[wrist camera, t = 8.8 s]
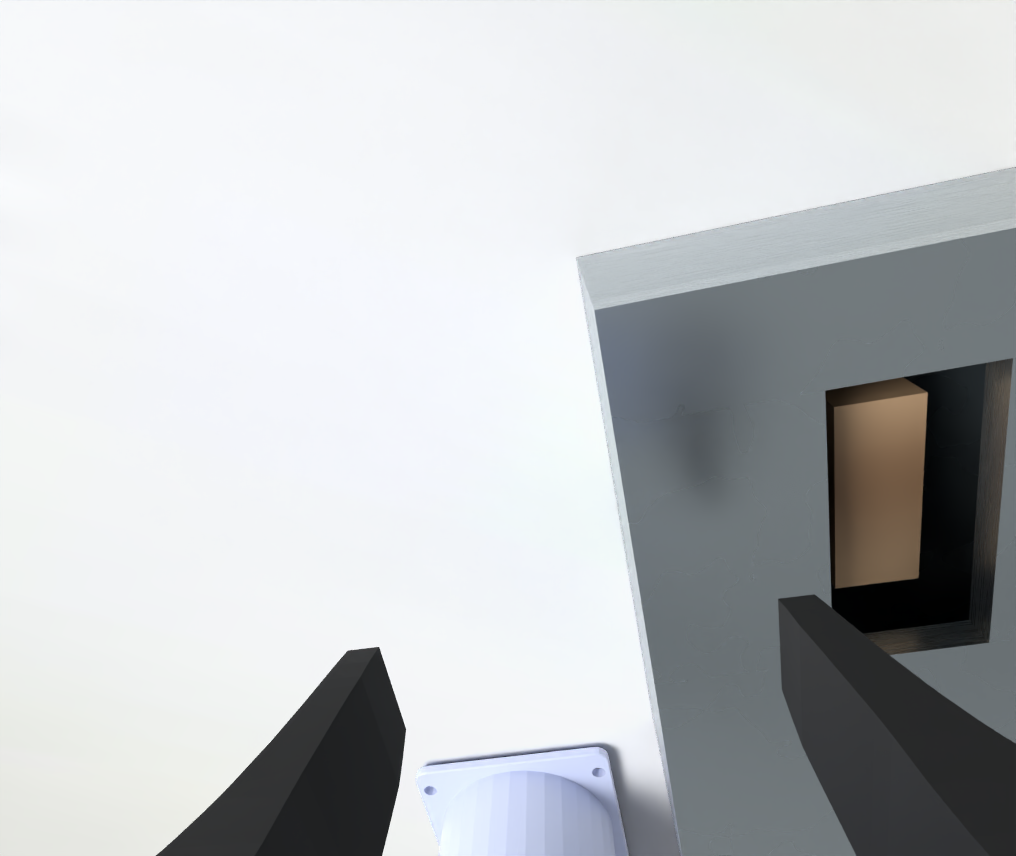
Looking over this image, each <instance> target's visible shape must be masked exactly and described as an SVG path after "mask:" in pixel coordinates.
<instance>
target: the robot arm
mask: <svg viewBox="0 0 1016 856" xmlns="http://www.w3.org/2000/svg"><path fill="white" fill-rule="evenodd" d="M778 610H779V635H780V659H781V684H782V692H783V694H784V697H785V700H786V703H787V706H788V709H789V711H790V714H791V717H792V720H793V723H794V725H795V728H796V731H797V733H798V736H799V739H800V741H801V744H802V747H803V749H804V751H805V753H806V755H807V757H808V759H809V761H810V763H811V765H812V767H813V769H814V771H815V773H816V776H817V778H818V780H819V782H820V784H821V786H822V788H823V790H824V792H825V794H826V796H827V798H828V800H829V802H830V804H831V806H832V808H833V810H834V812H835V814H836V816H837V818H838V820H839V822H840V824H841V826H842V828H843V830H844V832H845V834H846V836H847V838H848V840H849V842H850V844H851V846H852V848H853V850H854V852H855V854H856V856H1016V743H1014V742H1012V741H1011V740H1009V739H1007V738H1006V737H1004V736H1003V735H1001V734H1000V733H998V732H996V731H995V730H993V729H992V728H990V727H989V726H987V725H986V724H984V723H982V722H981V721H979V720H978V719H976V718H975V717H974V716H972V715H971V714H969V713H968V712H966V711H965V710H963V709H962V708H961V707H959V706H958V705H956V704H955V703H953V702H952V701H950V700H949V699H947V698H946V697H945V696H943V695H942V694H941V693H939V692H938V691H936V690H935V689H934V688H932V687H931V686H930V685H928V684H927V683H925V682H924V681H923V680H921V679H920V678H919V677H918V676H916V675H915V674H914V673H912V672H911V671H910V670H908V669H907V668H906V667H904V666H903V665H902V664H900V663H899V662H898V661H896V660H895V659H894V658H893V657H891V656H890V655H889V654H887V653H886V652H885V651H884V650H882V649H881V648H880V647H879V646H877V645H876V644H875V643H874V642H872V641H871V640H870V639H869V638H867V637H866V636H865V635H864V634H863V633H861V632H860V631H859V630H858V629H856V628H855V627H854V626H853V625H852V624H850V623H849V622H848V621H847V620H846V619H844V618H843V617H842V616H841V615H840V614H838V613H837V612H836V611H835V610H834V609H832V608H831V607H830V606H829V605H827V604H826V603H825V602H824V601H823V600H821V599H820V598H819V597H817V596H816V595H815V594H813V595H805V596H797V597H788V598H780V599H778ZM405 733H406V728H405V725H404V722H403V719H402V716H401V713H400V710H399V706H398V703H397V700H396V697H395V694H394V691H393V688H392V685H391V682H390V679H389V676H388V673H387V670H386V667H385V664H384V661H383V658H382V655H381V652H380V649H379V647H375V648H367V649H359V650H350V651H347V652H346V654H345V655H344V656H343V657H342V658H341V659H340V660H339V662H338V663H337V664H336V665H335V666H334V667H333V669H332V670H331V671H330V672H329V673H328V675H327V676H326V677H325V678H324V679H323V681H322V682H321V683H320V684H319V686H318V687H317V688H316V689H315V690H314V692H313V693H312V694H311V695H310V696H309V698H308V699H307V700H306V701H305V702H304V704H303V705H302V706H301V707H300V708H299V709H298V711H297V712H296V713H295V714H294V715H293V717H292V718H291V719H290V720H289V721H288V722H287V724H286V725H285V726H284V727H283V728H282V729H281V731H280V732H279V733H278V734H277V735H276V736H275V738H274V739H273V740H272V741H271V742H270V743H269V744H268V745H267V746H266V747H265V749H264V750H263V751H262V752H261V753H260V754H259V755H258V756H257V757H256V758H255V759H254V760H253V762H252V763H251V764H250V765H249V766H248V767H247V768H246V769H245V770H244V771H243V772H242V773H241V775H240V776H239V777H238V778H237V779H236V780H235V781H234V782H233V783H232V784H231V785H230V786H229V787H228V788H227V789H226V790H225V792H224V793H223V794H222V795H221V796H220V797H219V798H218V799H217V800H216V801H215V802H214V803H213V804H212V805H210V806H209V807H208V808H207V809H206V810H205V811H204V812H203V813H202V814H201V815H200V816H199V817H198V818H197V819H196V820H195V821H194V822H193V823H192V824H191V825H189V826H188V827H187V828H186V829H185V830H184V831H183V832H182V833H181V834H180V835H179V836H178V837H177V838H176V839H174V840H173V841H172V842H171V843H170V844H169V845H168V846H167V847H165V848H164V849H163V850H162V851H161V852H160V853H159V854H157V855H156V856H382V853H383V849H384V845H385V841H386V837H387V833H388V829H389V825H390V821H391V817H392V813H393V809H394V805H395V801H396V796H397V792H398V788H399V782H400V775H401V767H402V760H403V751H404V742H405ZM596 768H599V769H596ZM416 784H417V787H418V790H419V792H420V795H421V798H422V801H423V803H424V806H425V809H426V811H427V814H428V817H429V820H430V822H431V825H432V828H433V831H434V833H435V836H436V839H437V842H438V844H439V847H440V848H439V855H438V856H629V853H628V848H627V843H626V838H625V833H624V828H623V823H622V819H621V814H620V809H619V804H618V799H617V794H616V790H615V785H614V780H613V775H612V770H611V765H610V760H609V756H608V753H607V751H606V750H604V749H603V748H600V747H589V748H581V749H572V750H563V751H554V752H545V753H537V754H528V755H519V756H510V757H501V758H493V759H484V760H475V761H466V762H457V763H449V764H440V765H431V766H425V767H421V768H420V769H419V770H418V772H417V775H416ZM430 786H432V787H430Z"/></svg>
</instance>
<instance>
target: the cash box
mask: <svg viewBox="0 0 1016 856" xmlns="http://www.w3.org/2000/svg"><path fill="white" fill-rule="evenodd" d="M576 259H577V265H578V271H579V277H580V283H581V289H582V295H583V301H584V307H585V313H586V319H587V325H588V331H589V337H590V343H591V349H592V355H593V361H594V367H595V373H596V379H597V385H598V391H599V397H600V403H601V409H602V415H603V421H604V427H605V433H606V439H607V445H608V451H609V457H610V463H611V469H612V475H613V481H614V487H615V493H616V499H617V505H618V511H619V517H620V523H621V529H622V535H623V541H624V547H625V553H626V559H627V565H628V571H629V577H630V583H631V589H632V595H633V601H634V607H635V613H636V619H637V625H638V631H639V637H640V643H641V649H642V655H643V661H644V667H645V673H646V679H647V685H648V691H649V697H650V703H651V709H652V715H653V720H654V725H655V730H656V735H657V740H658V745H659V751H660V756H661V761H662V766H663V771H664V776H665V781H666V786H667V791H668V796H669V801H670V806H671V811H672V816H673V821H674V826H675V831H676V836H677V841H678V846H679V851H680V856H856V854H855V852H854V850H853V848H852V846H851V844H850V842H849V840H848V838H847V836H846V834H845V832H844V830H843V828H842V826H841V824H840V822H839V820H838V818H837V816H836V814H835V812H834V810H833V808H832V806H831V804H830V802H829V800H828V798H827V796H826V794H825V792H824V790H823V788H822V786H821V784H820V782H819V780H818V778H817V776H816V773H815V771H814V769H813V767H812V765H811V763H810V761H809V759H808V757H807V755H806V753H805V751H804V749H803V747H802V744H801V741H800V739H799V736H798V733H797V731H796V728H795V725H794V723H793V720H792V717H791V714H790V711H789V709H788V706H787V703H786V700H785V697H784V694H783V692H782V684H781V659H780V635H779V610H778V599H780V598H788V597H797V596H805V595H813V594H815V595H816V596H817V597H819V598H820V599H821V600H823V601H824V602H825V603H826V604H827V605H829V606H830V607H831V608H832V609H834V610H835V611H836V612H837V613H838V614H840V615H841V616H842V617H843V618H844V619H846V620H847V621H848V622H849V623H850V624H852V625H853V626H854V627H855V628H856V629H858V630H859V631H860V632H861V633H863V634H864V635H865V636H866V637H867V638H869V639H870V640H871V641H872V642H874V643H875V644H876V645H877V646H879V647H880V648H881V649H882V650H884V651H885V652H886V653H887V654H889V655H890V656H891V657H893V658H894V659H895V660H896V661H898V662H899V663H900V664H902V665H903V666H904V667H906V668H907V669H908V670H910V671H911V672H912V673H914V674H915V675H916V676H918V677H919V678H920V679H921V680H923V681H924V682H925V683H927V684H928V685H930V686H931V687H932V688H934V689H935V690H936V691H938V692H939V693H941V694H942V695H943V696H945V697H946V698H947V699H949V700H950V701H952V702H953V703H955V704H956V705H958V706H959V707H961V708H962V709H963V710H965V711H966V712H968V713H969V714H971V715H972V716H974V717H975V718H976V719H978V720H979V721H981V722H982V723H984V724H986V725H987V726H989V727H990V728H992V729H993V730H995V731H996V732H998V733H1000V734H1001V735H1003V736H1004V737H1006V738H1007V739H1009V740H1011V741H1012V742H1014V743H1016V167H1013V168H1009V169H1004V170H999V171H994V172H989V173H984V174H979V175H975V176H970V177H965V178H960V179H955V180H950V181H945V182H941V183H936V184H931V185H926V186H921V187H916V188H911V189H907V190H902V191H897V192H892V193H887V194H882V195H877V196H873V197H868V198H863V199H858V200H853V201H848V202H843V203H839V204H834V205H829V206H824V207H819V208H814V209H809V210H805V211H800V212H795V213H790V214H785V215H780V216H775V217H771V218H766V219H761V220H756V221H751V222H746V223H741V224H737V225H732V226H727V227H722V228H717V229H712V230H707V231H703V232H698V233H693V234H688V235H683V236H678V237H673V238H669V239H664V240H659V241H654V242H649V243H644V244H639V245H635V246H630V247H625V248H620V249H615V250H610V251H605V252H601V253H596V254H591V255H586V256H581V257H576ZM901 377H903V378H905V379H907V380H908V381H910V382H911V383H913V384H915V385H916V386H918V387H920V388H921V389H923V390H924V391H926V392H928V397H927V417H926V437H925V457H924V477H923V497H922V518H921V538H920V558H919V578H915V579H907V580H899V581H892V582H884V583H876V584H868V585H860V586H852V587H844V588H836V589H835V587H834V586H833V584H832V583H831V571H830V537H829V502H828V467H827V432H826V398H825V391H826V390H831V389H837V388H843V387H849V386H855V385H860V384H866V383H872V382H878V381H884V380H889V379H895V378H901Z"/></svg>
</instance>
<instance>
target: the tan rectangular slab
mask: <svg viewBox="0 0 1016 856" xmlns="http://www.w3.org/2000/svg"><path fill="white" fill-rule="evenodd" d="M927 397H928V392H926V391H924V390H923V389H921V388H920V387H918V386H916V385H915V384H913V383H911V382H910V381H908V380H907V379H905V378H903V377H901V378H895V379H889V380H884V381H878V382H872V383H866V384H860V385H855V386H849V387H843V388H837V389H831V390H826V391H825V398H826V432H827V467H828V502H829V537H830V571H831V583H832V584H833V586H834V587H835V589H836V588H844V587H852V586H860V585H868V584H876V583H884V582H892V581H899V580H907V579H915V578H919V558H920V538H921V518H922V497H923V477H924V457H925V437H926V417H927Z"/></svg>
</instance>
